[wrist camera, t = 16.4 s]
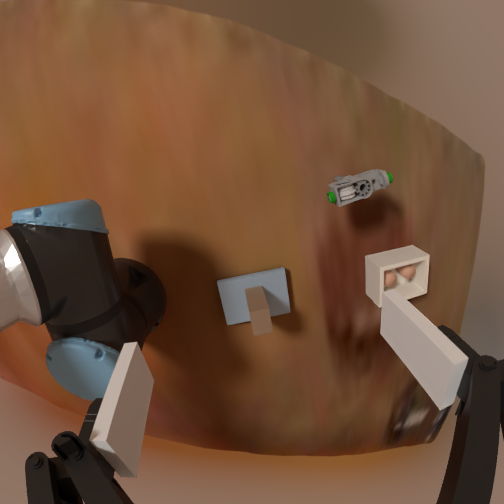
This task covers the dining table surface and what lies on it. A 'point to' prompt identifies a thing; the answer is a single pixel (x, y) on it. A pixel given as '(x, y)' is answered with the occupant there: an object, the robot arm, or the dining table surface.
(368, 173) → the mechanical component
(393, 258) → the box
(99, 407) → the robot arm
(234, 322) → the lid
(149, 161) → the dining table surface
